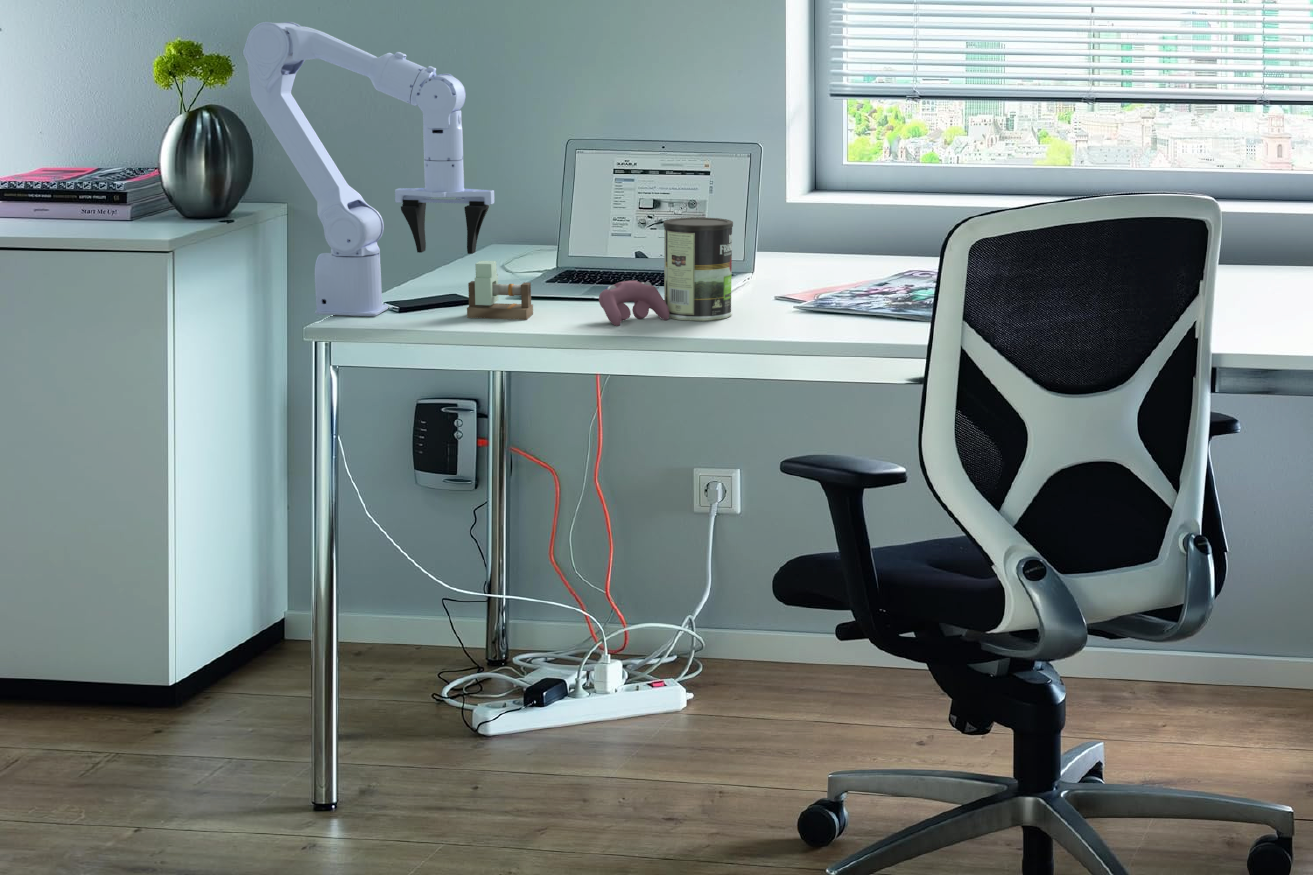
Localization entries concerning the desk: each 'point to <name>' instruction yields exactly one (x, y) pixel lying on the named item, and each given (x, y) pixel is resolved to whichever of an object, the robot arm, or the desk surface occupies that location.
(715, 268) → the coffee can
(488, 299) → the mint green stepped block
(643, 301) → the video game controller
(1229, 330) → the desk surface
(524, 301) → the rod stand
